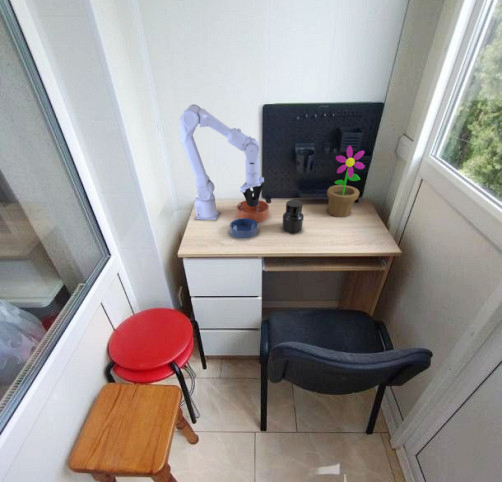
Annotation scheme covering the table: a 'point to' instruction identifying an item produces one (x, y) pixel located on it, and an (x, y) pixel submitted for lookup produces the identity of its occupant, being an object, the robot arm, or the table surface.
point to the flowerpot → (344, 186)
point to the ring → (254, 201)
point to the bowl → (253, 211)
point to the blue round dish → (243, 228)
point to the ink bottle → (293, 217)
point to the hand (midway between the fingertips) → (252, 202)
